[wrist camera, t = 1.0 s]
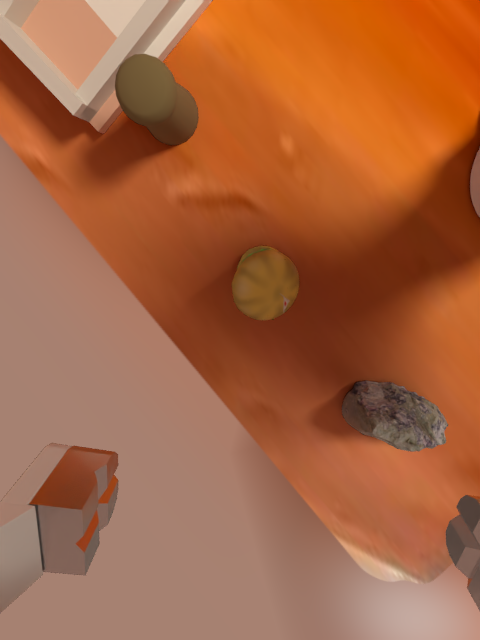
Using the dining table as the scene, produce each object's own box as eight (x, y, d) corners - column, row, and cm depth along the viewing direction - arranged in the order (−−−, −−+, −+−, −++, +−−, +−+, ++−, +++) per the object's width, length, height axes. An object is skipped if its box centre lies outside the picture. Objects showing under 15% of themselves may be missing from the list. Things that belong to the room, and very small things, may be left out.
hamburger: (240, 235, 42) (236, 250, 31) (298, 244, 42) (314, 263, 31) (231, 294, 45) (224, 328, 34) (285, 303, 45) (296, 340, 34)
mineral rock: (443, 413, 50) (487, 464, 41) (381, 452, 53) (409, 508, 44) (392, 354, 47) (426, 394, 38) (329, 398, 50) (347, 446, 41)
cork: (137, 130, 39) (94, 108, 28) (154, 72, 37) (115, 25, 26) (186, 154, 39) (163, 141, 29) (206, 98, 37) (188, 62, 27)
